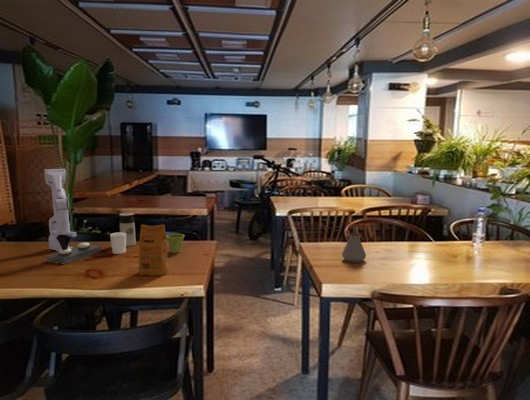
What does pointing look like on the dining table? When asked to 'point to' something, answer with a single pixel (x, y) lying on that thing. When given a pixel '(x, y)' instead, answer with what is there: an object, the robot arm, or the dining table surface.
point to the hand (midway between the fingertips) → (64, 249)
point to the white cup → (118, 242)
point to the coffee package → (153, 250)
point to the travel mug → (128, 228)
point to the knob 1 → (65, 252)
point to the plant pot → (175, 242)
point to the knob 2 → (83, 245)
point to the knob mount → (74, 254)
